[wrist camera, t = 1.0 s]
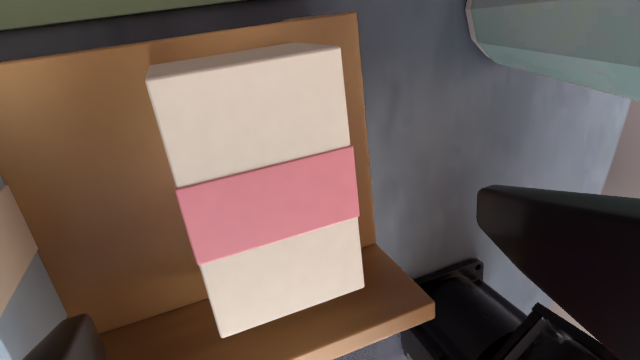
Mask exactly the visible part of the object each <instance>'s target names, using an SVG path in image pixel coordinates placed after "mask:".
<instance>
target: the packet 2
mask: <svg viewBox="0 0 640 360" xmlns="http://www.w3.org/2000/svg"><path fill="white" fill-rule="evenodd" d="M145 83H146V87H147V90H148V94H149V97H150V100H151V104H152V107H153V111H154V114H155V117H156V121H157V124H158V128H159V131H160V134H161V138H162V141H163V145H164V148H165V151H166V155H167V158H168V162H169V165H170V168H171V172H172V175H173V179H174V187H175V193H176V197H177V200H178V203H179V207H180V210H181V213H182V217H183V220H184V223H185V227H186V230H187V234H188V237H189V240H190V244H191V247H192V250H193V254H194V257H195V261H196V264H197V265H199V267H200V270H201V274H202V277H203V280H204V284H205V287H206V291H207V294H208V297H209V301H210V304H211V308H212V311H213V314H214V318H215V321H216V325H217V328H218V331H219V335H220V337H221V338H225V337H228V336H231V335H234V334H236V333H239V332H242V331H245V330H247V329H250V328H253V327H256V326H259V325H261V324H264V323H267V322H270V321H272V320H275V319H278V318H281V317H284V316H286V315H289V314H292V313H295V312H297V311H300V310H303V309H306V308H309V307H311V306H314V305H317V304H320V303H322V302H325V301H328V300H331V299H334V298H336V297H339V296H342V295H345V294H347V293H350V292H353V291H356V290H359V289H361V288H363V287H364V286H365V285H364V275H363V265H362V255H361V245H360V235H359V226H358V217H359V216H360V212H359V201H358V191H357V181H356V171H355V161H354V151H353V146H352V145H351V144H350V136H349V126H348V117H347V107H346V97H345V87H344V77H343V67H342V57H341V49H340V47H339V46H333V45H321V44H310V43H299V42H292V43H286V44H280V45H274V46H267V47H261V48H255V49H249V50H242V51H236V52H230V53H224V54H217V55H211V56H205V57H199V58H192V59H186V60H180V61H174V62H167V63H161V64H155V65H151V66H149V69H148V73H147V76H146V80H145Z"/></svg>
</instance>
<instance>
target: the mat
mask: <svg viewBox="0 0 640 360" xmlns="http://www.w3.org/2000/svg"><path fill="white" fill-rule="evenodd" d="M237 1H245V0H0V31H4V30H12V29H20V28H28V27H36V26H44V25H52V24H60V23H68V22H76V21H84V20H92V19H100V18H108V17H116V16H124V15H132V14H140V13H148V12H156V11H164V10H172V9H180V8H189V7H197V6H205V5H213V4H221V3H229V2H237Z"/></svg>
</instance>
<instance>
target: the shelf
mask: <svg viewBox="0 0 640 360" xmlns="http://www.w3.org/2000/svg"><path fill="white" fill-rule="evenodd" d="M292 42H299V43H310V44H321V45H333V46H339V47H340V49H341V57H342V67H343V77H344V87H345V97H346V107H347V117H348V126H349V136H350V144H351V145H352V146H353V151H354V161H355V171H356V181H357V191H358V201H359V212H360V216H359V217H358V226H359V235H360V245H361V255H362V265H363V275H364V285H365V286H364V287H363V288H361V289H359V290H356V291H353V292H350V293H347V294H345V295H342V296H339V297H336V298H334V299H331V300H328V301H325V302H322V303H320V304H317V305H314V306H311V307H309V308H306V309H303V310H300V311H297V312H295V313H292V314H289V315H286V316H284V317H281V318H278V319H275V320H272V321H270V322H267V323H264V324H261V325H259V326H256V327H253V328H250V329H247V330H245V331H242V332H239V333H236V334H234V335H231V336H228V337H225V338H221V337H220V335H219V331H218V328H217V325H216V321H215V318H214V314H213V311H212V308H211V304H210V301H209V297H208V294H207V291H206V287H205V284H204V280H203V277H202V274H201V270H200V267H199V265H197V264H196V261H195V257H194V254H193V250H192V247H191V244H190V240H189V237H188V234H187V230H186V227H185V223H184V220H183V217H182V213H181V210H180V207H179V203H178V200H177V197H176V193H175V187H174V179H173V175H172V172H171V168H170V165H169V162H168V158H167V155H166V151H165V148H164V145H163V141H162V138H161V134H160V131H159V128H158V124H157V121H156V117H155V114H154V111H153V107H152V104H151V100H150V97H149V94H148V90H147V87H146V83H145V80H146V76H147V73H148V69H149V66H151V65H155V64H161V63H167V62H174V61H180V60H186V59H192V58H199V57H205V56H211V55H217V54H224V53H230V52H236V51H242V50H249V49H255V48H261V47H267V46H274V45H280V44H286V43H292ZM0 175H1V177H2V179H3V181H4V183H5V185H8V186H9V188H10V190H11V192H12V194H13V196H14V198H15V200H16V202H17V205H18V207H19V209H20V211H21V213H22V215H23V217H24V219H25V221H26V223H27V226H28V228H29V230H30V232H31V234H32V236H33V238H34V240H35V242H36V245H37V247H38V250H37V252H38V254H39V256H40V259H41V261H42V263H43V265H44V267H45V269H46V271H47V273H48V275H49V277H50V279H51V282H52V284H53V286H54V288H55V290H56V292H57V294H58V296H59V298H60V300H61V302H62V305H63V307H64V309H65V311H66V313H67V318H70V317H73V316H76V315H80V314H83V313H86V314H88V315H89V316H90V317H91V318H92V320H93V322H94V325H95V327H96V329H97V331H98V334H99V336H100V338H101V340H102V342H103V345H104V348H105V352H106V360H333V359H336V358H338V357H340V356H343V355H345V354H348V353H350V352H353V351H355V350H358V349H360V348H363V347H365V346H368V345H370V344H372V343H375V342H377V341H380V340H382V339H385V338H387V337H390V336H392V335H395V334H397V333H400V332H402V331H404V330H407V329H409V328H412V327H414V326H417V325H419V324H422V323H424V322H427V321H429V320H431V319H434V318H435V302H434V301H433V300H432V299H431V298H430V297H429V296H428V295H427V294H426V293H425V292H424V291H423V290H422V289H421V288H420V287H419V286H418V285H417V284H416V283H415V282H414V281H413V280H412V279H411V278H410V277H409V276H408V275H407V274H406V273H405V272H404V271H403V270H402V269H401V268H400V267H399V266H398V265H397V264H396V263H395V262H394V261H393V260H392V259H391V258H390V257H389V256H388V255H387V254H386V253H385V252H384V251H383V250H382V249H381V248H380V247H379V246H378V245H377V244H376V236H375V224H374V212H373V200H372V188H371V176H370V164H369V152H368V140H367V128H366V116H365V103H364V91H363V79H362V67H361V55H360V43H359V31H358V19H357V12H346V13H335V14H324V15H314V16H306V17H299V18H292V19H285V20H281V22H277V23H270V24H263V25H256V26H249V27H242V28H235V29H228V30H221V31H214V32H207V33H200V34H193V35H186V36H179V37H172V38H165V39H158V40H151V41H144V42H137V43H130V44H123V45H116V46H109V47H102V48H95V49H88V50H81V51H75V52H68V53H61V54H54V55H47V56H40V57H33V58H26V59H19V60H12V61H5V62H0ZM67 318H66V319H67Z"/></svg>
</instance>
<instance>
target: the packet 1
mask: <svg viewBox="0 0 640 360" xmlns="http://www.w3.org/2000/svg"><path fill="white" fill-rule="evenodd" d="M37 250H38V247H37V245H36V242H35V240H34V238H33V236H32V234H31V232H30V230H29V228H28V226H27V223H26V221H25V219H24V217H23V215H22V213H21V211H20V209H19V207H18V205H17V202H16V200H15V198H14V196H13V194H12V192H11V190H10V188H9V186H8V185H5V183H4V181H3V179H2V177H1V175H0V360H22V359H23V358H24V357H25V356H26V355H27V354H28V353H29V352H30V351H31V350H32V349H33V348H34V347H35V346H36V345H37V344H38V343H39V342H41V341H42V340H43V339H44V338H45V337H46V336H47V335H48V334H49V333H50V332H51V331H52V330H53V329H54V328H55V327H56V326H57V325H58V324H59V323H60V322H61V321H62V320H64V319H66V318H67V313H66V311H65V309H64V307H63V305H62V302H61V300H60V298H59V296H58V294H57V292H56V290H55V288H54V286H53V284H52V282H51V279H50V277H49V275H48V273H47V271H46V269H45V267H44V265H43V263H42V261H41V259H40V256H39V254H38V252H37Z"/></svg>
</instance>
